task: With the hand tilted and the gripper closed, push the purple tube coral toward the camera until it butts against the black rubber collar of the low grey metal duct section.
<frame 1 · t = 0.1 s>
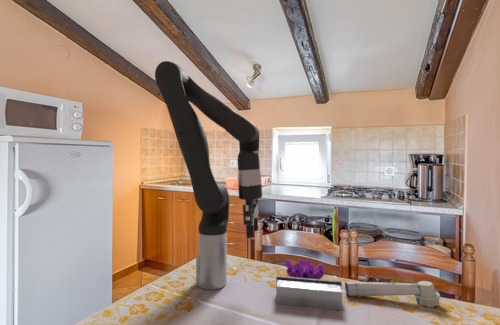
hand: (252, 233, 91), 17 cm above the table, fingers open, 8 cm apart
white handheld device: (390, 300, 84), on the table
purple tube coral: (304, 282, 95), on the table
duct section: (308, 302, 81), on the table
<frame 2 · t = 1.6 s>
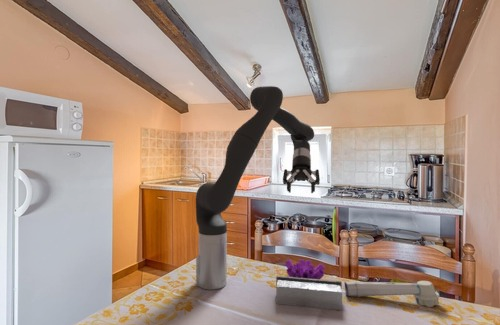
hand: (300, 191, 107), 29 cm above the table, fingers open, 8 cm apart
nothing on the table moved.
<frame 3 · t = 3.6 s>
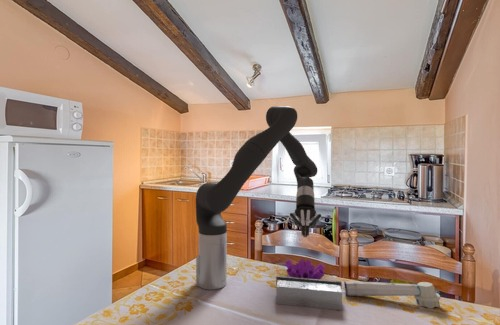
hand: (305, 236, 107), 12 cm above the table, fingers closed
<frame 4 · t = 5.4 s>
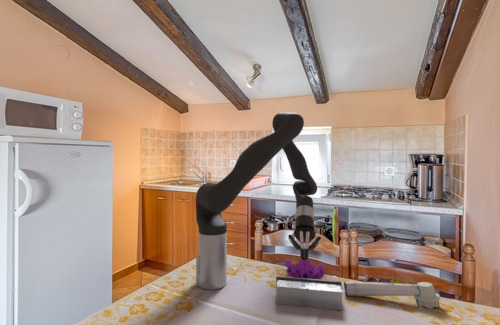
hand: (304, 260, 102), 5 cm above the table, fingers closed
purple tube coral: (304, 282, 95), on the table, touching gripper
everything else where it was.
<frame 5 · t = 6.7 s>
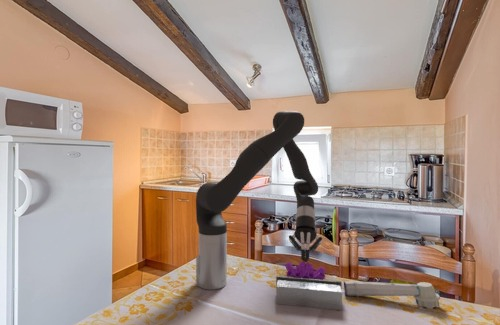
hand: (305, 261, 101), 5 cm above the table, fingers closed
purple tube coral: (305, 285, 93), on the table
everything else where it was.
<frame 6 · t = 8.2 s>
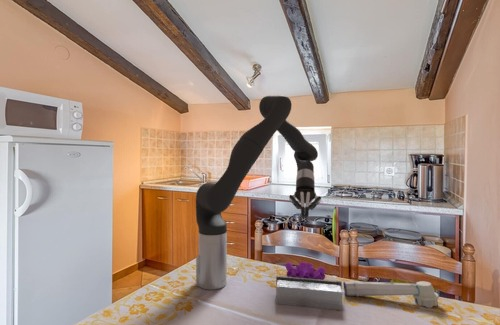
hand: (304, 217, 106), 20 cm above the table, fingers closed
nothing on the table moved.
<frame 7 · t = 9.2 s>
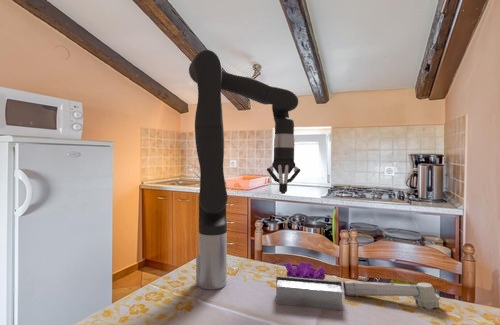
hand: (283, 193, 105), 29 cm above the table, fingers closed
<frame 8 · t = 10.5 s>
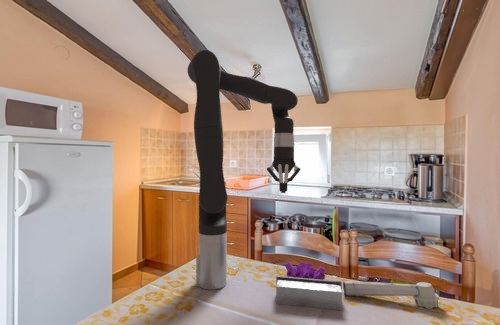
hand: (283, 192, 104), 29 cm above the table, fingers closed
nothing on the table moved.
at the end: purple tube coral inside the target area on the table beside the duct section (2.0 cm from its centre), on the table; purple tube coral tilted 0° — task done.
